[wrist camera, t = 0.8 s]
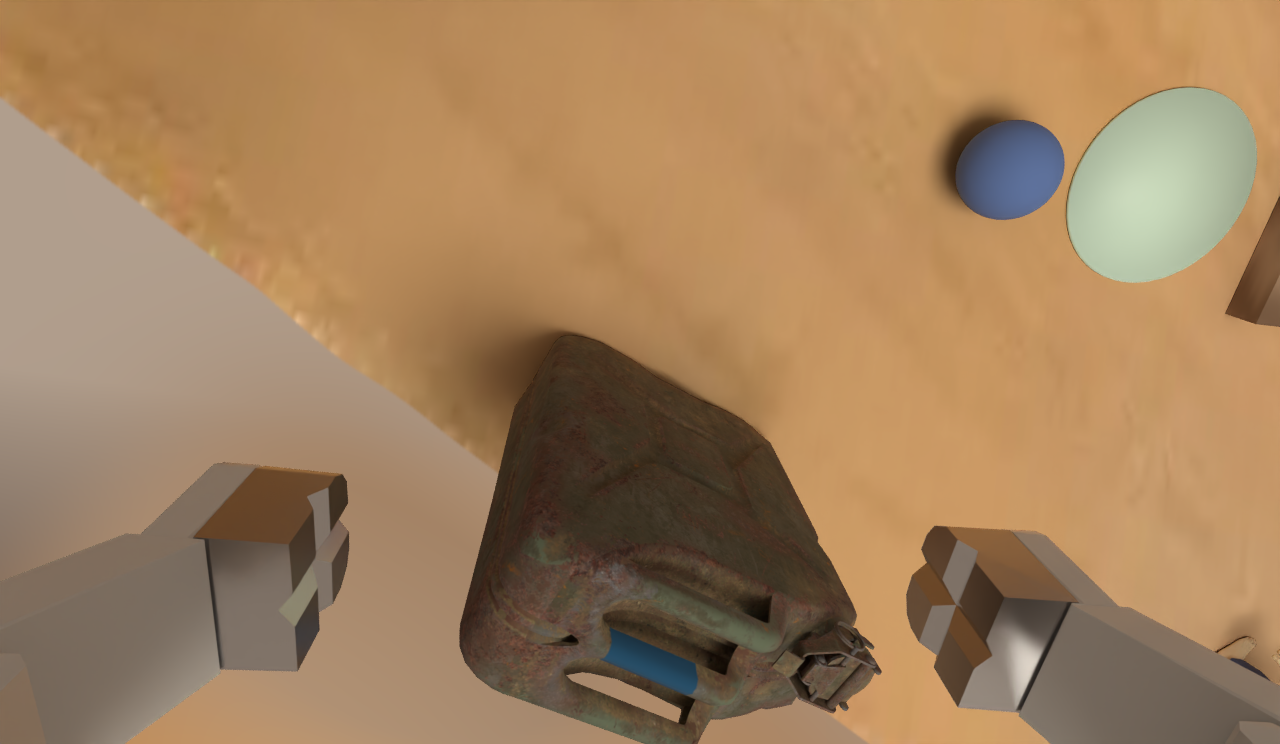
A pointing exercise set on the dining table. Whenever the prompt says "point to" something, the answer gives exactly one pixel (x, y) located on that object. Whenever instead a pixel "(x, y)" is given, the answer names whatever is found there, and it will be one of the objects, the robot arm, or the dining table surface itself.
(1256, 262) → the brown bar
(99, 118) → the dining table surface
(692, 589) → the canister
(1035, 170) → the ball
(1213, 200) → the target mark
